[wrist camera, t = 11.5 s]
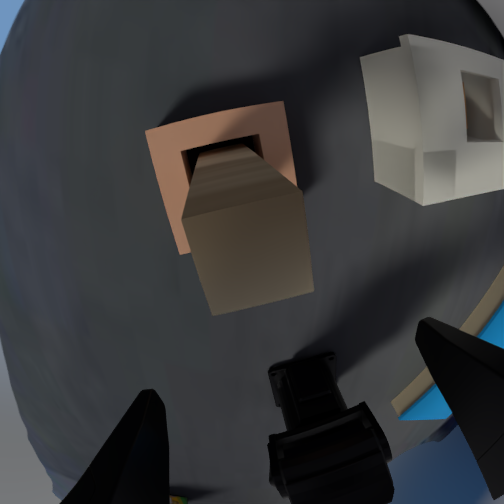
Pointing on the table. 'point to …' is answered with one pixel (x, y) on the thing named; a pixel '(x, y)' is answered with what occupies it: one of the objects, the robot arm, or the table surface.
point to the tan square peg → (246, 231)
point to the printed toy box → (178, 500)
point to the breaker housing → (435, 119)
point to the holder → (207, 132)
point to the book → (423, 386)
